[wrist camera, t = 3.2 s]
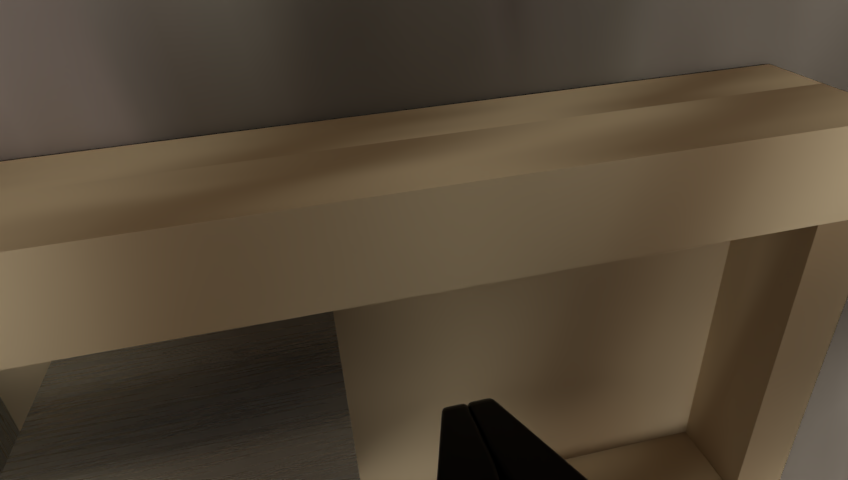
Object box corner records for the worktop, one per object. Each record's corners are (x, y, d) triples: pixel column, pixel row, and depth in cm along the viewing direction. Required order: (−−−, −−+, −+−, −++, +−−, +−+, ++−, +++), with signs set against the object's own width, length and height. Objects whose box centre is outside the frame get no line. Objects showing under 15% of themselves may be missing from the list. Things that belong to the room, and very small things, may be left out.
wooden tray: (769, 64, 11) (914, 116, 8) (684, 428, 15) (761, 529, 13) (-502, 224, 8) (-845, 377, 5) (-131, 616, 12) (-224, 790, 10)
